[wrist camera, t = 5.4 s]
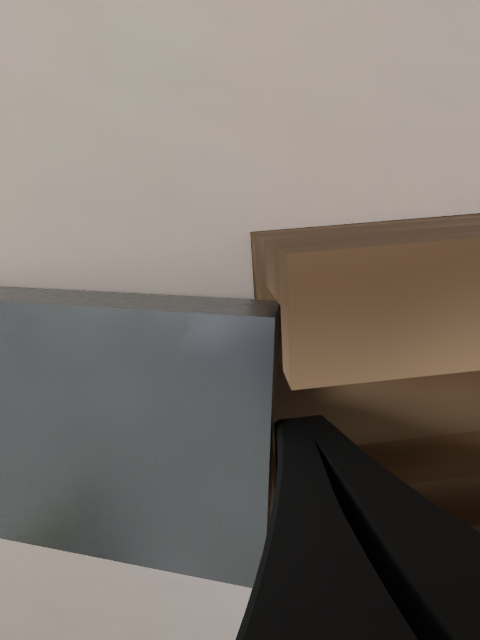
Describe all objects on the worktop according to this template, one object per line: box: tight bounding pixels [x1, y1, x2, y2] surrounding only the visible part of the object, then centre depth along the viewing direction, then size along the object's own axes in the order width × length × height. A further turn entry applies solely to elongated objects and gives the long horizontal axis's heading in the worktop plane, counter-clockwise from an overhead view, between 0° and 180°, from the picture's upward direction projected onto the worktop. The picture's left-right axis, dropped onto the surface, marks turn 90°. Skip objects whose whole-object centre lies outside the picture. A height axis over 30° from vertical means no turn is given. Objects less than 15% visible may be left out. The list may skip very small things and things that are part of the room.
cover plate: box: [0, 287, 280, 588], centre depth 10 cm, size 8×12×2 cm, turn 90°
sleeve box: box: [250, 213, 480, 532], centre depth 10 cm, size 11×12×6 cm
